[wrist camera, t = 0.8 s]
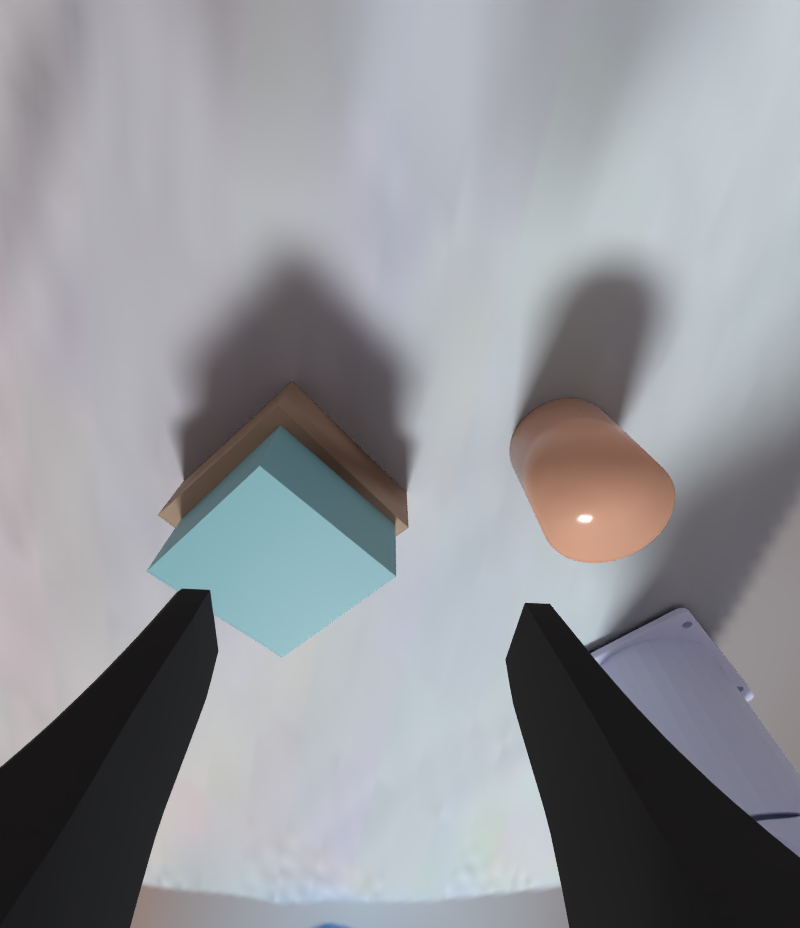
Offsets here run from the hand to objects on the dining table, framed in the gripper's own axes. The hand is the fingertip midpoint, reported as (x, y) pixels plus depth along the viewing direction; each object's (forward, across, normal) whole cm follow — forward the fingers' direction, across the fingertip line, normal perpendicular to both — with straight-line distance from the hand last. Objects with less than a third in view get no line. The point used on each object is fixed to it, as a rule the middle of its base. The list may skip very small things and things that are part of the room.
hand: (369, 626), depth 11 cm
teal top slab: (+8, +3, +3) cm, 9 cm away
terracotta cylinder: (+10, -8, 0) cm, 13 cm away
